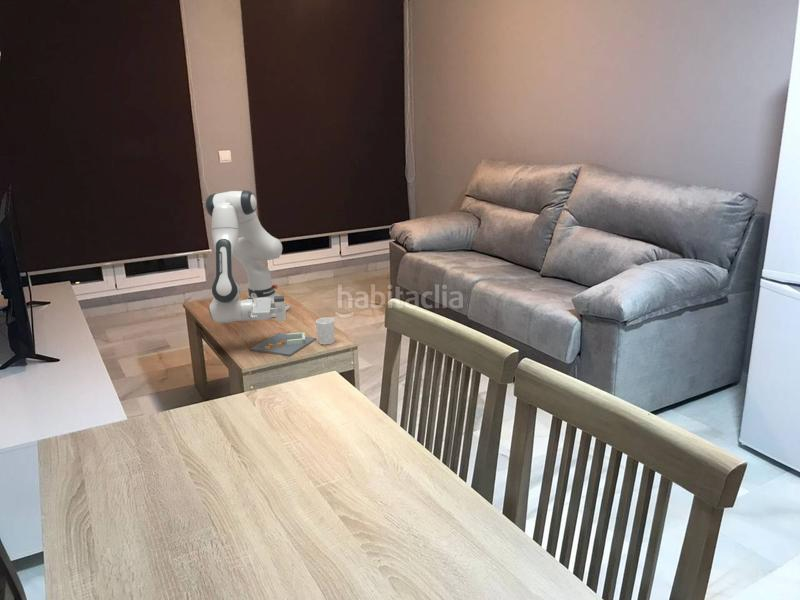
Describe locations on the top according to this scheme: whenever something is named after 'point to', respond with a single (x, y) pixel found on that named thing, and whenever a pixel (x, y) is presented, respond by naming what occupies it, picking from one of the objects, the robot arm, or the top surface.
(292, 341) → the end holder
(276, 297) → the beige container
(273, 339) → the board
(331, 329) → the white cup
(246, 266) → the robot arm
